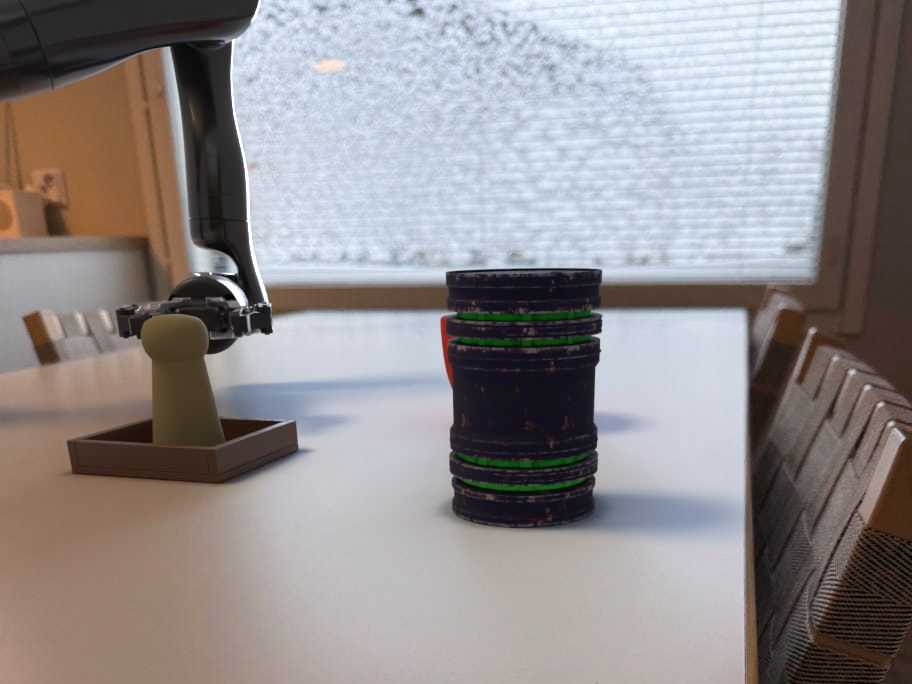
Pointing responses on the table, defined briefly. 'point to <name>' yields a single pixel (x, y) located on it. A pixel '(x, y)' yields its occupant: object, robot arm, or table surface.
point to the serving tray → (183, 451)
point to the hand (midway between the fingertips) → (188, 325)
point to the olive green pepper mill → (181, 382)
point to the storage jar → (523, 394)
